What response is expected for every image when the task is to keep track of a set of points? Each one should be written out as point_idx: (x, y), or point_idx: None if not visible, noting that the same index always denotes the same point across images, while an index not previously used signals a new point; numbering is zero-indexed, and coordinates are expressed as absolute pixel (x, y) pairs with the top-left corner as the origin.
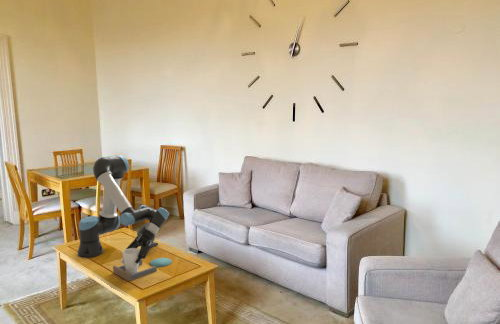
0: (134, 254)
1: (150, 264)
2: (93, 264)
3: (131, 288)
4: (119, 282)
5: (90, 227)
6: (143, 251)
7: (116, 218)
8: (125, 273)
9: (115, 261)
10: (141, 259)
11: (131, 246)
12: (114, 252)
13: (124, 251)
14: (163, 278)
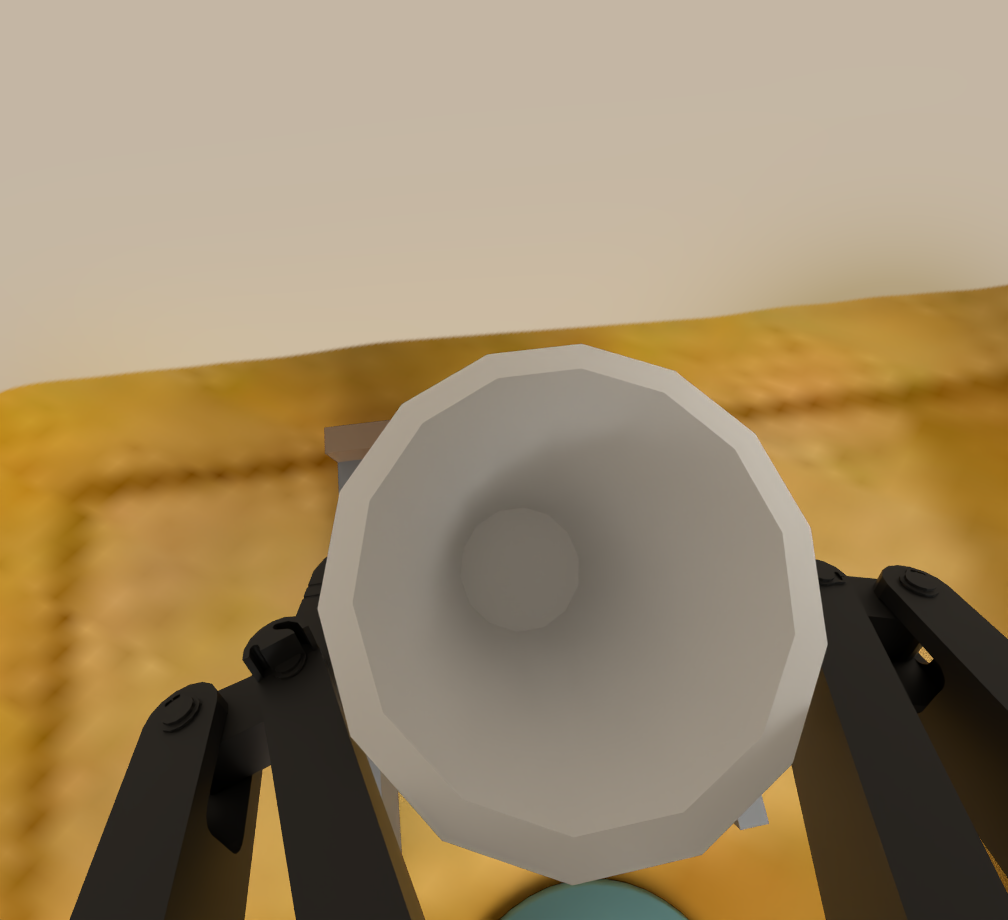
0: (337, 560)
1: (604, 885)
2: (924, 350)
3: (188, 416)
4: (390, 383)
5: None
6: (123, 908)
7: None
8: (384, 423)
9: (921, 540)
10: (759, 824)
11: (981, 744)
12: None
13: (693, 431)
14: (96, 825)
